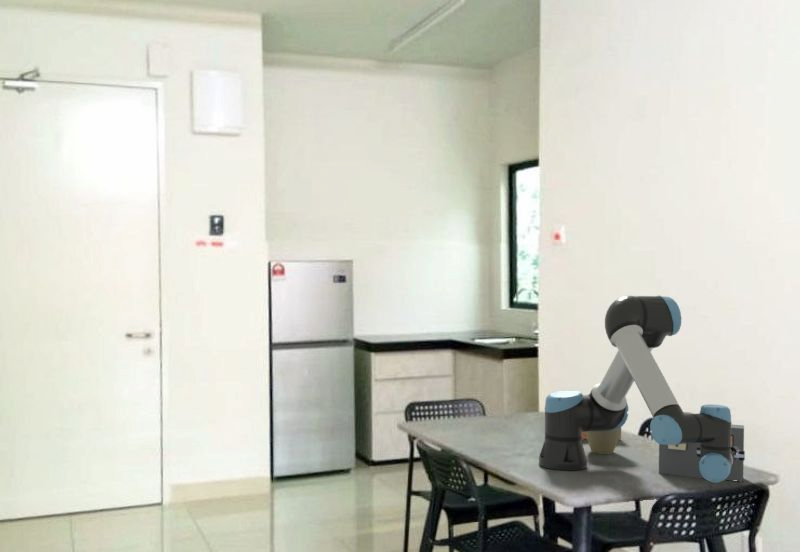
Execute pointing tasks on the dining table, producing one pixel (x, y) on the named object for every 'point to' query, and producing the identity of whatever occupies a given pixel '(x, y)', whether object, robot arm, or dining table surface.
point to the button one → (677, 446)
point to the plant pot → (603, 440)
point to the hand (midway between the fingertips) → (724, 444)
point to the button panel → (698, 458)
